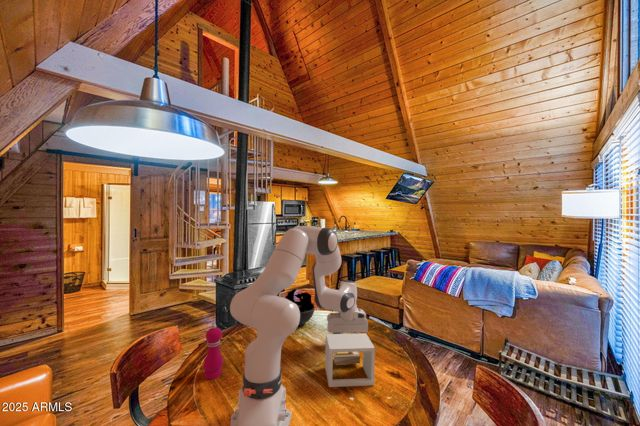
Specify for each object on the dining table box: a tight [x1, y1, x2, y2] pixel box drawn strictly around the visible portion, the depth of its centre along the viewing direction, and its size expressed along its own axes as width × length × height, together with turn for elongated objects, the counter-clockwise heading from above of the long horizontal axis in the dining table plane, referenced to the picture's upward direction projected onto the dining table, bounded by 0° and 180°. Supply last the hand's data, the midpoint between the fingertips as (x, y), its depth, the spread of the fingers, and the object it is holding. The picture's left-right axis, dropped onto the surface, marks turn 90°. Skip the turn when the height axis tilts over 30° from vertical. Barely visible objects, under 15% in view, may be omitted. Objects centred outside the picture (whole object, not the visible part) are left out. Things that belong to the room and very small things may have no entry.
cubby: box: [324, 332, 376, 388], centre depth 107 cm, size 12×17×14 cm
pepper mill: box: [203, 324, 224, 380], centre depth 106 cm, size 7×7×20 cm
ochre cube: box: [334, 352, 350, 366], centre depth 117 cm, size 5×5×5 cm
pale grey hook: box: [333, 332, 361, 365], centre depth 131 cm, size 35×12×3 cm, turn 6°
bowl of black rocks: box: [284, 288, 315, 326], centre depth 157 cm, size 20×20×19 cm
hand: (347, 340), depth 133 cm, fingers closed on pale grey hook, 2 cm apart
